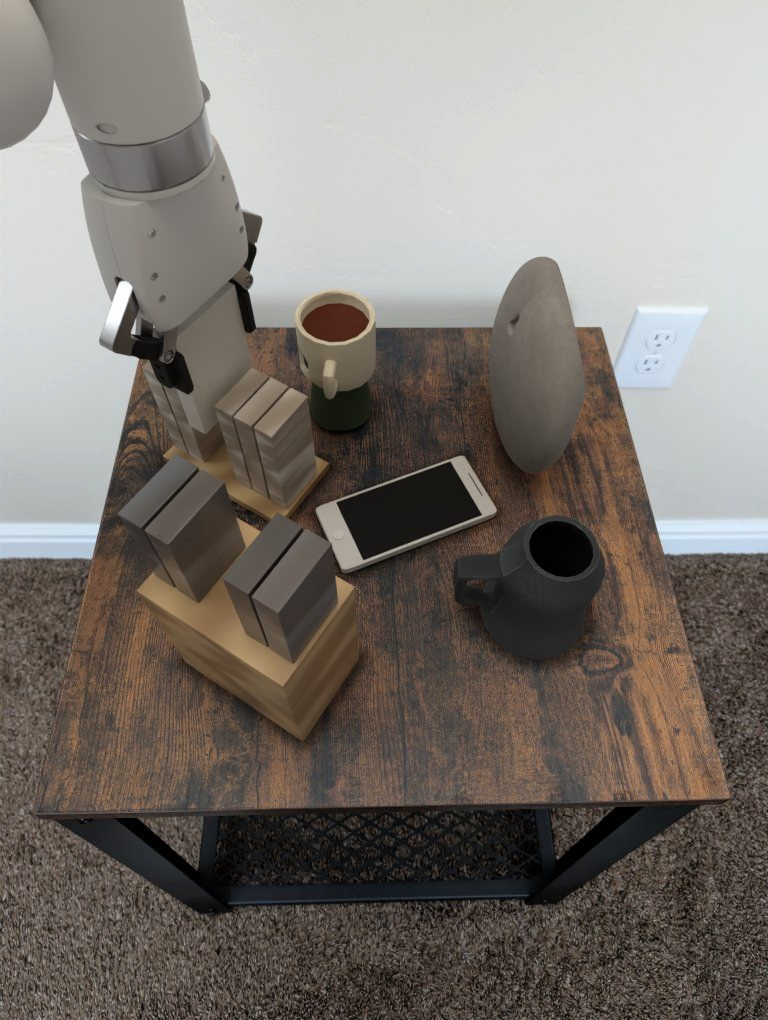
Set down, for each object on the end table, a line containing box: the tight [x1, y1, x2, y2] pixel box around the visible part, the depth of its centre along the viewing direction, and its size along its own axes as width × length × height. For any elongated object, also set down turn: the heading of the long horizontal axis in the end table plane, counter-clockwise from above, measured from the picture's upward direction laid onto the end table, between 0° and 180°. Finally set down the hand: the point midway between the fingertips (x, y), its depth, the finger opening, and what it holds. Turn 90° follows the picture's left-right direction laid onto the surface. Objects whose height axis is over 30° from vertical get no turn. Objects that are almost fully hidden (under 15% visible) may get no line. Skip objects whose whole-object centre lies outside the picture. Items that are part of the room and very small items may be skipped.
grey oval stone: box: [488, 256, 587, 475], centre depth 63 cm, size 18×7×19 cm, turn 3°
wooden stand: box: [117, 454, 360, 742], centre depth 49 cm, size 12×8×22 cm, turn 58°
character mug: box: [294, 288, 377, 432], centre depth 67 cm, size 11×7×13 cm, turn 174°
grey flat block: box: [155, 282, 254, 434], centre depth 57 cm, size 2×7×11 cm, turn 148°
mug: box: [452, 514, 606, 661], centre depth 56 cm, size 12×9×11 cm
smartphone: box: [315, 455, 498, 574], centre depth 65 cm, size 7×15×1 cm, turn 113°
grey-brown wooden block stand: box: [141, 360, 330, 523], centre depth 63 cm, size 14×8×12 cm, turn 58°
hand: (208, 353), depth 56 cm, fingers closed on grey flat block, 7 cm apart
